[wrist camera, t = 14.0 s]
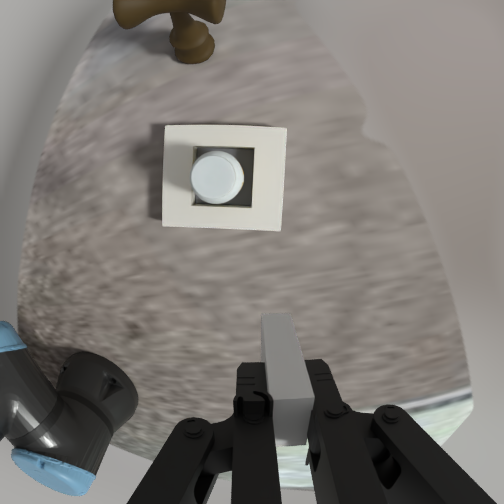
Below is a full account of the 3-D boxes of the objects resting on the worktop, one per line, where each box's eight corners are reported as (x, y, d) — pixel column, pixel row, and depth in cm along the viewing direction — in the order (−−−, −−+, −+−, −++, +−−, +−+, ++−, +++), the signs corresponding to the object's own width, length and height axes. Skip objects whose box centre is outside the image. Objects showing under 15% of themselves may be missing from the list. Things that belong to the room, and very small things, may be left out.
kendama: (231, 69, 32) (213, -21, 13) (157, 70, 32) (83, 0, 13) (235, 30, 31) (223, -69, 11) (163, 33, 30) (104, -51, 11)
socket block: (167, 222, 37) (162, 226, 35) (170, 128, 34) (165, 125, 32) (278, 227, 37) (280, 231, 35) (284, 131, 34) (286, 128, 32)
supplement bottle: (242, 200, 36) (240, 209, 27) (198, 197, 36) (181, 206, 27) (245, 156, 35) (244, 149, 25) (201, 154, 35) (185, 147, 25)
